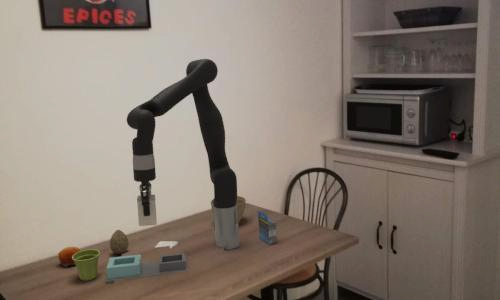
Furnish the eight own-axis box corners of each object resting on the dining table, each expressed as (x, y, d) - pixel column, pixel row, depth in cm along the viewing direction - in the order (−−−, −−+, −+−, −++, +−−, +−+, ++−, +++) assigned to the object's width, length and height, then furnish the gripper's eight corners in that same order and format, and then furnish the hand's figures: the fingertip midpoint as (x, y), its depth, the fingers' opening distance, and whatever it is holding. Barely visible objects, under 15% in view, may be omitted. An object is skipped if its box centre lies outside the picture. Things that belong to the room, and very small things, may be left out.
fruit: (60, 268, 170) (57, 247, 173) (60, 271, 177) (57, 251, 179) (83, 263, 174) (80, 242, 176) (82, 266, 181) (78, 247, 183)
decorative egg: (120, 248, 190) (118, 225, 188) (133, 251, 186) (130, 228, 184) (107, 255, 184) (104, 231, 182) (120, 258, 180) (117, 234, 178)
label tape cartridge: (277, 242, 188) (276, 214, 186) (268, 244, 186) (267, 215, 184) (266, 236, 196) (265, 208, 194) (258, 238, 194) (257, 210, 192)
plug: (156, 221, 166) (155, 194, 165) (156, 224, 163) (154, 197, 161) (139, 222, 166) (137, 195, 164) (139, 226, 162) (137, 198, 160)
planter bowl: (211, 218, 222) (210, 197, 220) (244, 216, 223) (243, 194, 221) (212, 230, 206) (211, 207, 204) (248, 227, 207) (247, 204, 205)
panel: (186, 260, 175) (185, 248, 174) (187, 274, 164) (186, 261, 163) (110, 268, 171) (109, 256, 170) (106, 283, 160) (104, 270, 159)
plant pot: (102, 280, 162) (99, 257, 161) (73, 285, 160) (70, 261, 158) (102, 269, 171) (100, 247, 169) (75, 273, 168) (73, 251, 167)
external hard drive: (178, 245, 192) (168, 257, 180) (159, 244, 194) (148, 257, 182) (177, 241, 192) (168, 253, 180) (159, 241, 193) (148, 253, 181)
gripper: (154, 170, 154) (157, 219, 157) (155, 162, 168) (158, 207, 171) (131, 171, 153) (134, 221, 156) (134, 163, 167) (137, 208, 170)
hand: (147, 213), depth 163 cm, fingers closed on plug, 4 cm apart
